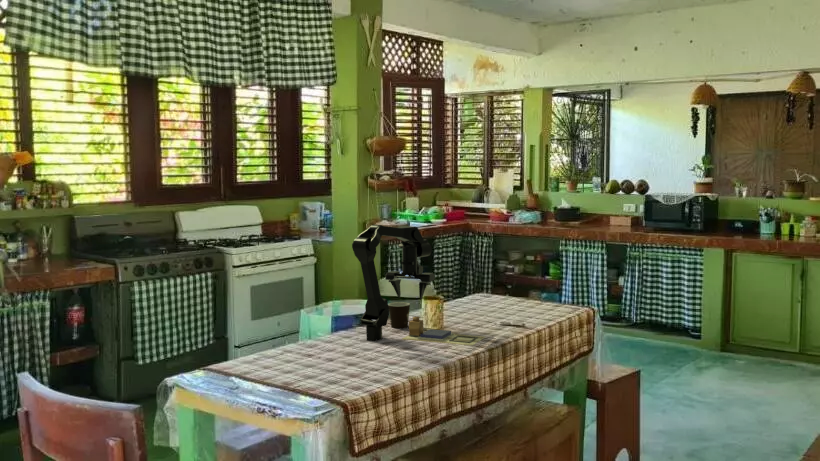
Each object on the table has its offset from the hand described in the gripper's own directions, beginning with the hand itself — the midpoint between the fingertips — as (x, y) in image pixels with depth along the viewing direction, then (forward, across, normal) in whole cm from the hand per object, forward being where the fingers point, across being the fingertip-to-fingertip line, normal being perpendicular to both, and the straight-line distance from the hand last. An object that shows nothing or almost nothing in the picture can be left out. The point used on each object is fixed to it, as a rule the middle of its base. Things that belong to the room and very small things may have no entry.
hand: (410, 298), depth 296 cm
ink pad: (+12, -15, +10) cm, 22 cm away
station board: (+13, -18, +10) cm, 24 cm away
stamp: (+12, -7, +10) cm, 17 cm away
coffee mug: (+13, +5, -4) cm, 15 cm away
